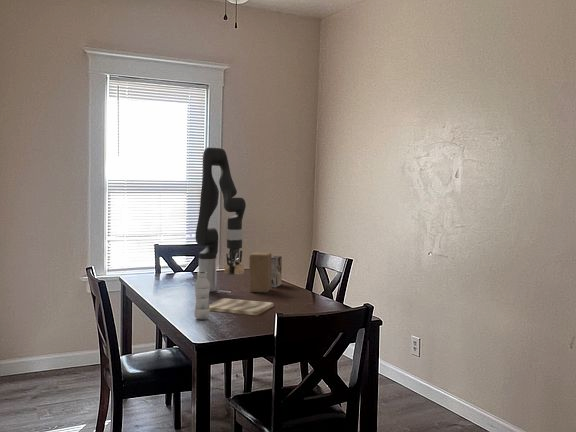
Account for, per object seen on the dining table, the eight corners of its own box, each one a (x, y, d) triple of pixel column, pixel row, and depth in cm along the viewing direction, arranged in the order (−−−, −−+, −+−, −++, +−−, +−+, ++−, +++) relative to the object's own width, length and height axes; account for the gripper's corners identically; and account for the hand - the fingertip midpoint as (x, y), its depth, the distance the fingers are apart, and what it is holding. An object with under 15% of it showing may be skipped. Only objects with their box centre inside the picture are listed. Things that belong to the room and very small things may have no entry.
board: (204, 310, 264) (204, 306, 264) (223, 301, 283) (223, 298, 283) (257, 315, 255) (257, 312, 255) (273, 305, 274) (273, 302, 274)
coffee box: (270, 283, 329) (271, 255, 328) (281, 284, 327) (282, 256, 326) (265, 286, 320) (265, 257, 319) (276, 287, 318) (276, 258, 317)
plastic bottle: (194, 317, 251) (194, 271, 249) (210, 317, 251) (210, 271, 250) (193, 321, 244) (193, 274, 243) (209, 321, 245) (210, 274, 243)
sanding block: (224, 274, 285) (224, 265, 285) (230, 272, 290) (230, 263, 289) (238, 275, 282) (238, 266, 281) (244, 274, 286) (244, 265, 286)
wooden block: (267, 293, 303) (267, 255, 301) (248, 292, 305) (248, 254, 303) (271, 289, 313) (271, 252, 311) (253, 288, 315) (253, 251, 313)
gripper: (233, 236, 292) (233, 270, 294) (221, 239, 279) (220, 274, 280) (247, 237, 290) (247, 271, 291) (235, 240, 276) (235, 275, 278)
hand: (234, 272), depth 286 cm, fingers closed on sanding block, 5 cm apart
